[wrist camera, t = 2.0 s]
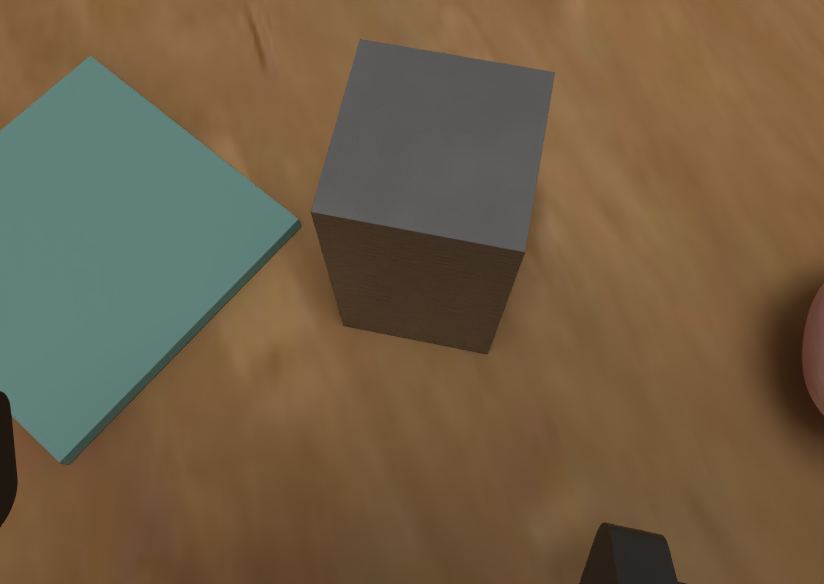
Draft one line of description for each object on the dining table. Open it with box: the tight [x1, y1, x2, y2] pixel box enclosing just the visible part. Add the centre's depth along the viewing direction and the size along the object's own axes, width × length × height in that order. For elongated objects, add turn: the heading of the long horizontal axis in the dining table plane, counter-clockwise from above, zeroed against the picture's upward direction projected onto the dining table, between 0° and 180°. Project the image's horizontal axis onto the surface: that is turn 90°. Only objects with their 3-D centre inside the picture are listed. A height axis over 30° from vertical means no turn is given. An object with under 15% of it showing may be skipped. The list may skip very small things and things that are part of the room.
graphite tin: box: [311, 39, 555, 354], centre depth 27 cm, size 6×6×11 cm
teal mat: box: [0, 56, 301, 465], centre depth 33 cm, size 14×14×1 cm
